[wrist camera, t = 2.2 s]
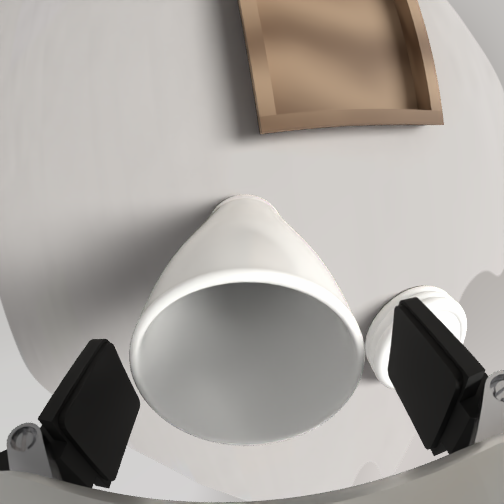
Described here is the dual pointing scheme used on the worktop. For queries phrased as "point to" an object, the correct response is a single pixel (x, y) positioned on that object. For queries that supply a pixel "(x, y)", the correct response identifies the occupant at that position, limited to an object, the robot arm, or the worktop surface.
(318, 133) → the worktop surface
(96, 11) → the worktop surface
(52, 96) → the worktop surface
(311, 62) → the tray
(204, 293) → the white tall cup
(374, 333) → the white cup lid
